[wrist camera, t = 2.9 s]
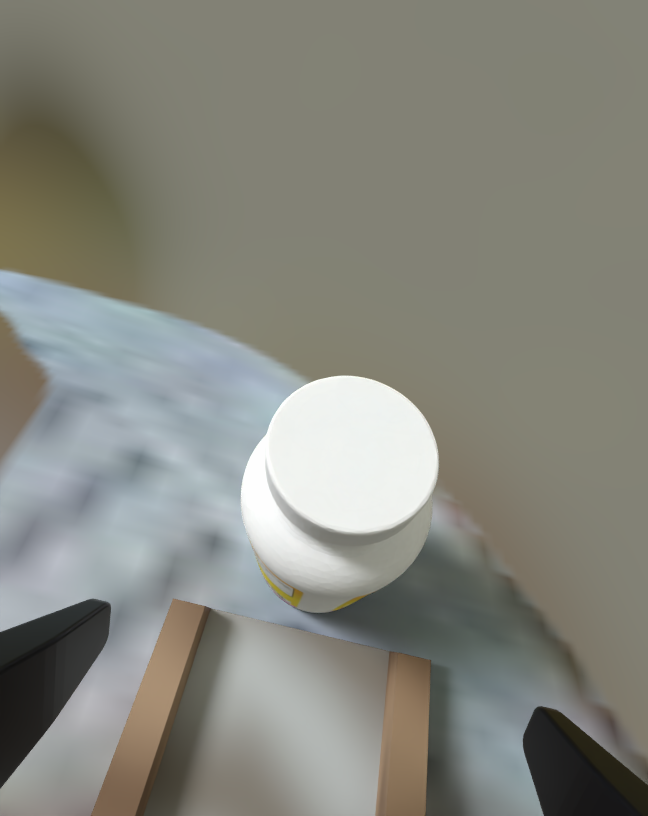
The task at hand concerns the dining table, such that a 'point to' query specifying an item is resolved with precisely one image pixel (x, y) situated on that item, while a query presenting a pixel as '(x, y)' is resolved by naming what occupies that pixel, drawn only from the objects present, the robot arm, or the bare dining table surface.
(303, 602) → the supplement bottle
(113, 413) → the dining table surface
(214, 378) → the dining table surface
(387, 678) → the open-ended tray
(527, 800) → the dining table surface
